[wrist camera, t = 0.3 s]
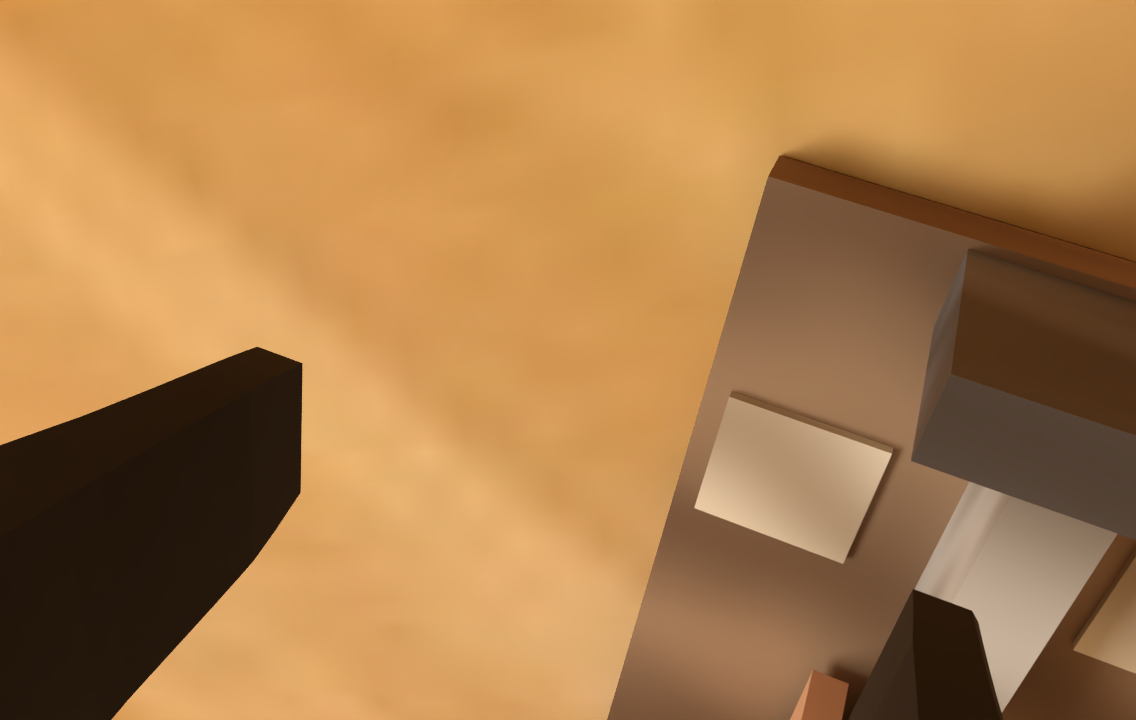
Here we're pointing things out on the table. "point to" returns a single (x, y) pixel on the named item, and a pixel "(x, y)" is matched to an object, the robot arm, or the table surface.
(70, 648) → the robot arm
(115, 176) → the table surface
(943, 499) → the rail board
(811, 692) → the sleeve
